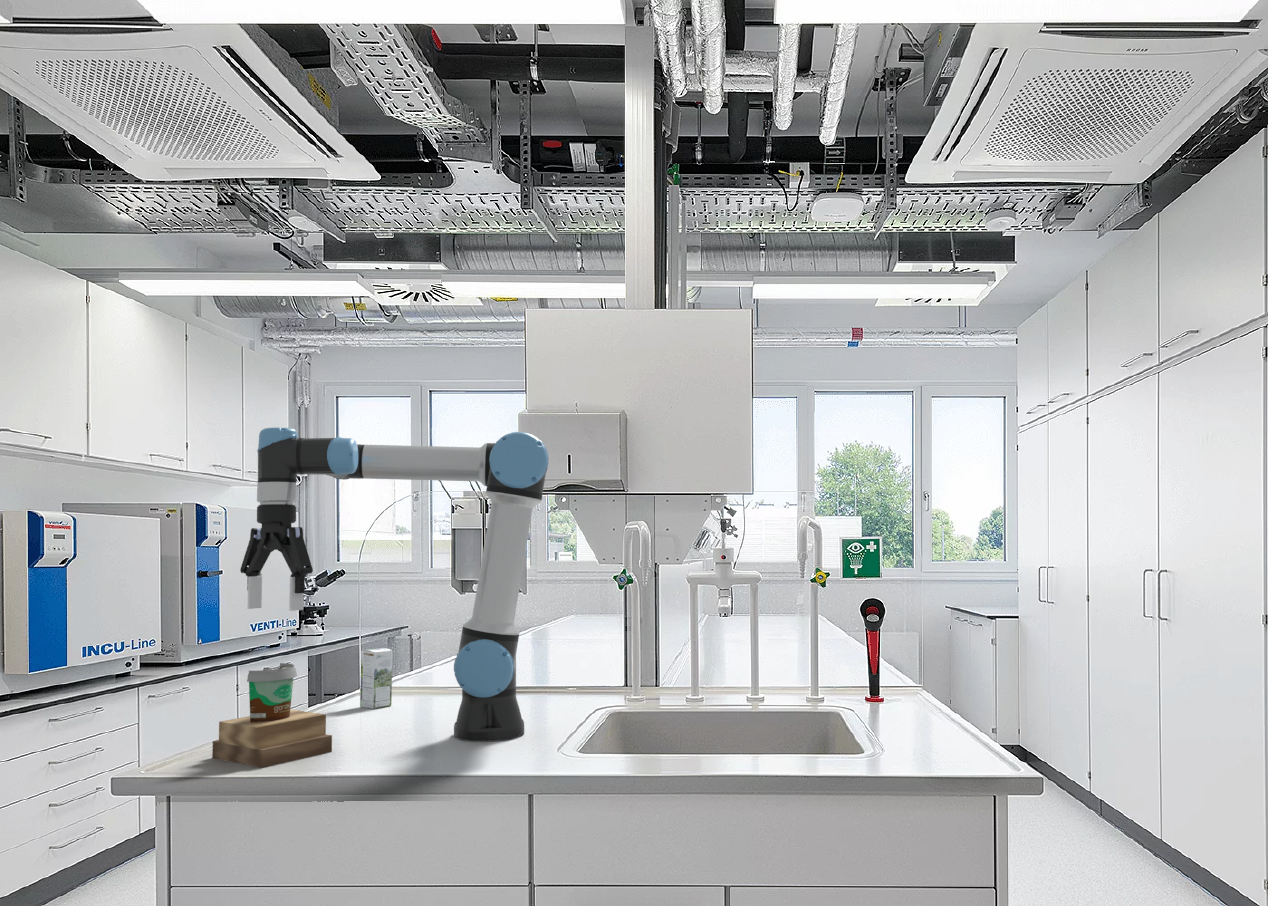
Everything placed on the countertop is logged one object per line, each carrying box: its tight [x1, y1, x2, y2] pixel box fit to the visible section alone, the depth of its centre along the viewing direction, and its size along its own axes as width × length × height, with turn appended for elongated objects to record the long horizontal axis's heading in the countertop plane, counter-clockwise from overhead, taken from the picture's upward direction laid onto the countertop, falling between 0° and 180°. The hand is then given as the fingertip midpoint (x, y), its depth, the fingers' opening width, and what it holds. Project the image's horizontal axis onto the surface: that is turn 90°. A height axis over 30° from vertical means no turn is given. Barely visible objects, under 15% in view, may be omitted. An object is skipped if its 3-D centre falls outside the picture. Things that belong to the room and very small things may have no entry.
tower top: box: [218, 709, 327, 749], centre depth 195 cm, size 12×16×4 cm
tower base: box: [211, 734, 333, 769], centre depth 195 cm, size 16×16×4 cm
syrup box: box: [359, 647, 394, 710], centre depth 250 cm, size 6×6×14 cm
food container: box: [246, 662, 298, 722], centre depth 196 cm, size 12×6×10 cm, turn 169°
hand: (275, 609), depth 197 cm, fingers open, 13 cm apart
